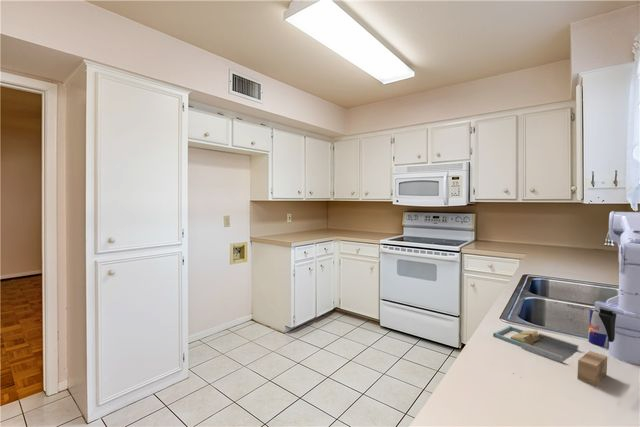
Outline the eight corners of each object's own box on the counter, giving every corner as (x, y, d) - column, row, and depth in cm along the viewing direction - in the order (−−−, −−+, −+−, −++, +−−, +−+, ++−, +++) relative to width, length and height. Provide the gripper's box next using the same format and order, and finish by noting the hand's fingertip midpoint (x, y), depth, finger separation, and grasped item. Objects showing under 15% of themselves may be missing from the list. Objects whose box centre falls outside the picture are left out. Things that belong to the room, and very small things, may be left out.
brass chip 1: (518, 342, 100) (516, 334, 100) (532, 343, 96) (529, 334, 97) (512, 345, 97) (510, 337, 98) (526, 346, 94) (523, 337, 95)
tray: (509, 332, 107) (509, 325, 107) (537, 342, 100) (537, 334, 100) (493, 340, 101) (493, 333, 101) (521, 351, 94) (521, 343, 94)
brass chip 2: (526, 338, 102) (524, 330, 103) (539, 338, 99) (537, 330, 100) (520, 341, 100) (518, 333, 101) (534, 342, 97) (531, 333, 97)
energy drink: (583, 343, 100) (585, 306, 100) (602, 344, 99) (604, 307, 99) (596, 351, 95) (598, 313, 94) (615, 352, 94) (617, 314, 94)
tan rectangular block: (588, 374, 82) (589, 350, 82) (606, 381, 79) (607, 356, 79) (577, 384, 78) (578, 359, 77) (595, 392, 75) (596, 366, 74)
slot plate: (539, 342, 101) (540, 333, 101) (578, 355, 92) (578, 345, 92) (521, 352, 93) (521, 343, 93) (560, 368, 85) (561, 357, 85)
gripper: (591, 287, 79) (588, 339, 80) (677, 303, 67) (673, 364, 68) (600, 283, 83) (597, 333, 84) (683, 298, 71) (679, 356, 72)
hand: (632, 346), depth 76 cm, fingers open, 7 cm apart
